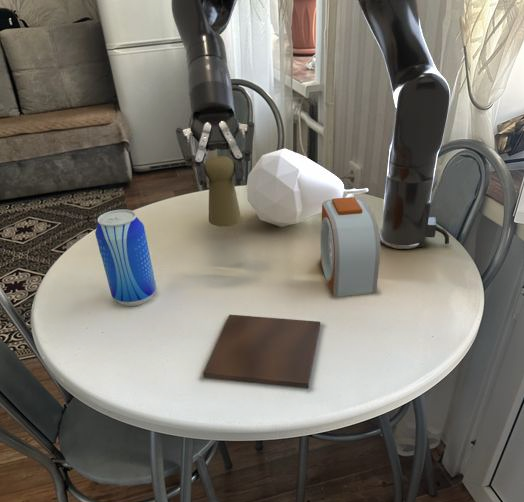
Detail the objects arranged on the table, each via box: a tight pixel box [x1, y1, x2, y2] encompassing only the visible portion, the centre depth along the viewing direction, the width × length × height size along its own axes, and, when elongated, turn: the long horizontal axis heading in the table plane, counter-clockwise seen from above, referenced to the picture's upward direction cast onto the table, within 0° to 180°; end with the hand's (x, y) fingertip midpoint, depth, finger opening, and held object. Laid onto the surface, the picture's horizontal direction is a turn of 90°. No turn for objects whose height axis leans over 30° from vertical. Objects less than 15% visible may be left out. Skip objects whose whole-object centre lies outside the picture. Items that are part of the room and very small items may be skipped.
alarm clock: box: [319, 196, 381, 298], centre depth 95 cm, size 15×8×14 cm, turn 5°
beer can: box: [94, 209, 157, 307], centre depth 91 cm, size 8×8×16 cm
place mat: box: [202, 314, 321, 389], centre depth 81 cm, size 16×16×1 cm
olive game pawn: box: [204, 155, 242, 228], centre depth 88 cm, size 6×6×11 cm
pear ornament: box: [246, 147, 369, 228], centre depth 117 cm, size 16×22×28 cm
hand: (221, 184), depth 86 cm, fingers closed on olive game pawn, 5 cm apart
